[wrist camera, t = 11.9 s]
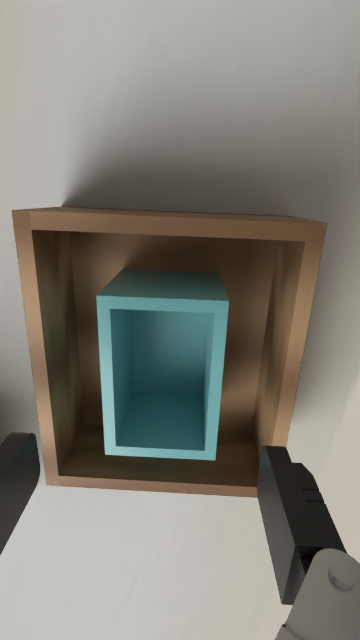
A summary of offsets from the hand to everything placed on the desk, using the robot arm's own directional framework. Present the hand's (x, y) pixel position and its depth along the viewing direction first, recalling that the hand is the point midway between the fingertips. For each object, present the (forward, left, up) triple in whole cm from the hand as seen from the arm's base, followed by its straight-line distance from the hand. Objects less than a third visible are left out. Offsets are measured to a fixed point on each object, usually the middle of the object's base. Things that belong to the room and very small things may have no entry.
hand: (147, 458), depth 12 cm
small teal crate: (0, 0, -11) cm, 11 cm away
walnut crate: (0, 0, -12) cm, 12 cm away
